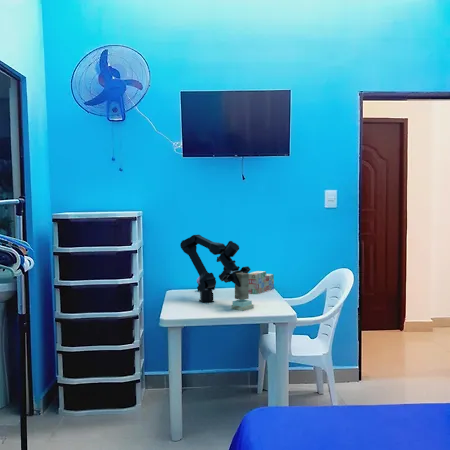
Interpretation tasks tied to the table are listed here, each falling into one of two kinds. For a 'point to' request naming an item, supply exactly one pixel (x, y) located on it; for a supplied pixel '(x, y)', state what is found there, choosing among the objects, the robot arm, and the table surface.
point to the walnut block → (242, 286)
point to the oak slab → (243, 307)
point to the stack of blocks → (260, 282)
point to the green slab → (242, 303)
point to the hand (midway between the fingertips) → (243, 285)
